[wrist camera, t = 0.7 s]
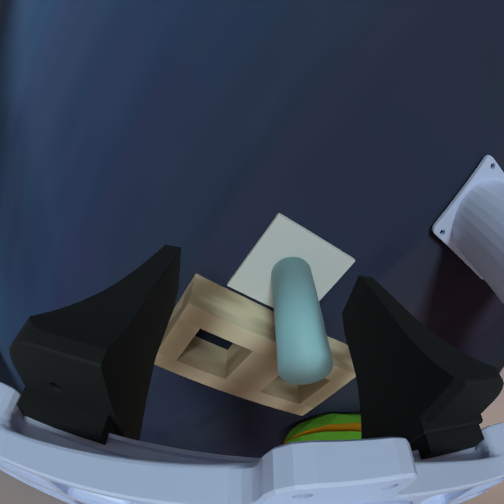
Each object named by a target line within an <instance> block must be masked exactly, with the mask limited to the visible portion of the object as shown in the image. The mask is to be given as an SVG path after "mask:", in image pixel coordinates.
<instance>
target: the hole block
mask: <svg viewBox="0 0 504 504" xmlns="http://www.w3.org/2000/svg"><path fill="white" fill-rule="evenodd" d="M199 329H203V330H205V331H207V332H209V333H212V334H214V335H216V336H218V337H221V338H223V339H225V340H228V341H230V342H232V343H233V344H232V345H231V346H230V348H229V349H228V350H227V349H224V348H222V347H220V346H217V345H215V344H212V343H210V342H208V341H206V340H203V339H201V338H199V337H196V336H195V335H196V333H197V332H198V331H199ZM327 337H328V336H327ZM328 342H329V346H330V351H331V355H332V360H333V369H332V371H331V372H330V373H329V375H328V376H326V377H325V378H324V379H322V380H320V381H318V382H315V383H311V384H306V385H296V384H291V383H288V382H286V381H284V380H283V379H282V378H281V377H280V376H279V374H278V364H277V348H276V333H275V319H274V311H272V310H270V309H268V308H266V307H263V306H261V305H259V304H257V303H255V302H253V301H251V300H249V299H247V298H245V297H243V296H241V295H238V294H236V293H234V292H232V291H230V290H228V289H226V288H224V287H222V286H220V285H218V284H216V283H214V282H212V281H210V280H208V279H206V278H204V277H202V276H200V275H198V274H195V276H194V277H193V279H192V281H191V282H190V284H189V285H188V287H187V289H186V290H185V292H184V293H183V295H182V297H181V298H180V300H179V302H178V303H177V305H176V306H175V308H174V310H173V312H172V315H171V318H170V320H169V323H168V326H167V329H166V331H165V334H164V337H163V339H162V342H161V345H160V347H159V350H158V353H157V356H156V359H155V363H154V364H155V365H157V366H160V367H162V368H164V369H167V370H169V371H171V372H174V373H176V374H179V375H181V376H184V377H186V378H189V379H191V380H194V381H196V382H199V383H202V384H204V385H207V386H210V387H212V388H215V389H218V390H221V391H223V392H226V393H229V394H232V395H235V396H238V397H241V398H244V399H247V400H250V401H253V402H256V403H259V404H263V405H266V406H269V407H272V408H276V409H279V410H283V411H286V412H290V413H293V414H297V415H301V416H303V415H304V414H306V413H307V412H309V411H310V410H311V409H313V408H314V407H316V406H317V405H318V404H320V403H321V402H323V401H324V400H325V399H327V398H328V397H329V396H331V395H332V394H333V393H335V392H336V391H337V390H339V389H340V388H341V387H343V386H344V385H345V384H347V383H348V382H349V381H350V380H352V379H353V378H354V377H355V376H356V374H355V371H354V367H353V363H352V359H351V355H350V352H349V348H348V345H346V344H344V343H342V342H340V341H337V340H335V339H333V338H331V337H328Z"/></svg>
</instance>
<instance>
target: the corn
mask: <svg viewBox="0 0 504 504" xmlns="http://www.w3.org/2000/svg"><path fill="white" fill-rule="evenodd" d="M352 439H361V413H330V414H321V415H318V416H315V417H313V418H311V419H308V420H306V421H304V422H301V423H300V424H298V425H297V426H296V427H294V428H293V429H292V430H290V432H289V434H288V435H287V437H286V439H285V440H284V444H288V443H291V442H299V441H310V440H352Z"/></svg>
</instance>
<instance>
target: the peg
mask: <svg viewBox="0 0 504 504" xmlns="http://www.w3.org/2000/svg"><path fill="white" fill-rule="evenodd" d="M271 277H272V291H273V305H274V319H275V333H276V348H277V364H278V374H279V376H280V377H281V378H282V379H283V380H284V381H286V382H288V383H291V384H296V385H306V384H311V383H315V382H318V381H320V380H322V379H324V378H325V377H326V376H328V375H329V373H330V372H331V371H332V369H333V360H332V355H331V351H330V346H329V342H328V337H327V333H326V329H325V325H324V320H323V316H322V312H321V308H320V304H319V300H318V295H317V291H316V287H315V283H314V279H313V275H312V272H311V268H310V265H309V264H308V263H307V262H306V261H305V260H304V259H302V258H299V257H286V258H283V259H281V260H280V261H278V262H277V263H276V264H275V265H274V267H273V269H272V272H271Z"/></svg>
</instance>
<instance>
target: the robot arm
mask: <svg viewBox="0 0 504 504" xmlns="http://www.w3.org/2000/svg"><path fill="white" fill-rule="evenodd" d="M491 164H492V167H491ZM441 230H443V231H442V233H440V231H441ZM432 231H433V233H434V234H435V235H436V236H437V237H438V238H440V239H441V240H442V241H443V242H444V243H445V244H446V245H447V246H448V247H449V248H450V249H451V250H452V251H453V252H454V253H455V254H457V255H458V256H459V257H460V258H461V259H462V260H463V261H464V262H465V263H466V264H467V265H468V266H469V267H470V268H471V269H472V270H473V271H474V272H475V273H476V274H477V275H478V276H479V277H480V278H481V279H484V280H485V281H486V282H487V284H488V285H489V286H490V287H491V289H492V290H493V291H494V292H495V294H496V295H497V296H498V297H499V299H500V300H501V301H502V303H503V304H504V173H503V171H502V170H501V168H500V167H499V165H498V164H497V163H496V161H495V160H494V158H493V157H492V156H490V155H486V156H485V157H484V158H483V160H482V161H481V162H480V164H479V165H478V167H477V168H476V170H475V171H474V172H473V174H472V175H471V176H470V178H469V179H468V181H467V182H466V183H465V185H464V186H463V187H462V189H461V190H460V191H459V193H458V194H457V195H456V197H455V198H454V199H453V201H452V202H451V203H450V204H449V206H448V207H447V208H446V209H445V211H444V212H443V213H442V215H441V216H440V217H439V218H438V219H437V221H436V222H435V223H434V224H433V226H432ZM180 255H181V247H175V246H169V245H165V246H164V247H162V248H161V249H160V250H159V251H158V252H157V253H155V254H154V255H153V256H152V257H151V258H149V259H148V260H147V261H146V262H145V263H143V264H142V265H141V266H140V267H138V268H137V269H136V270H134V271H133V272H132V273H130V274H129V275H128V276H126V277H125V278H123V279H122V280H120V281H119V282H117V283H116V284H114V285H112V286H111V287H109V288H107V289H105V290H104V291H102V292H100V293H98V294H96V295H93V296H91V297H89V298H87V299H85V300H83V301H80V302H78V303H75V304H72V305H70V306H67V307H64V308H61V309H58V310H54V311H50V312H46V313H42V314H38V315H34V316H30V317H29V319H28V320H27V321H26V323H25V324H24V326H23V327H22V329H21V330H20V332H19V333H18V335H17V336H16V338H15V340H14V341H13V343H12V345H11V346H10V356H11V359H12V362H13V364H14V366H15V368H16V370H17V372H18V374H19V376H20V378H21V379H22V381H23V383H24V385H25V388H24V390H23V393H22V395H21V393H20V392H18V391H17V390H16V389H14V388H13V387H11V386H9V385H6V384H4V383H2V382H0V470H2V471H4V472H5V473H7V474H9V475H11V476H13V477H15V478H16V479H18V480H20V481H22V482H24V483H26V484H28V485H30V486H32V487H34V488H36V489H38V490H40V491H42V492H44V493H46V494H49V495H51V496H53V497H55V498H58V499H60V500H62V501H64V502H67V503H69V504H459V503H462V502H464V501H467V500H469V499H472V498H474V497H476V496H478V495H481V494H482V493H484V492H486V491H488V490H489V489H491V488H492V487H494V486H495V485H497V484H499V483H500V482H502V481H503V480H504V424H503V423H498V424H495V425H491V426H488V427H485V428H484V429H482V430H481V428H480V426H479V424H480V423H482V421H483V419H482V417H481V413H482V412H483V411H484V410H485V409H486V408H487V407H488V406H489V405H490V404H491V403H492V402H493V401H494V400H495V399H496V397H497V396H498V395H499V393H500V392H501V390H502V387H503V384H504V383H503V380H502V378H501V376H500V374H499V372H498V371H497V369H496V368H495V367H492V366H490V365H488V364H485V363H483V362H481V361H478V360H476V359H474V358H472V357H470V356H469V355H467V354H465V353H463V352H461V351H460V350H458V349H456V348H454V347H453V346H451V345H450V344H448V343H447V342H445V341H444V340H442V339H441V338H439V337H438V336H437V335H435V334H434V333H433V332H432V331H430V330H429V329H428V328H426V327H425V326H424V325H423V324H421V323H420V322H419V321H418V320H417V319H416V318H415V317H414V316H412V315H411V314H410V313H409V312H408V311H407V310H406V309H405V308H404V307H403V306H402V305H401V304H400V303H399V302H398V301H397V300H396V299H395V298H394V297H392V296H391V295H390V294H389V293H388V292H387V291H386V290H385V289H384V288H383V287H382V286H381V285H380V284H379V283H378V282H376V281H375V280H374V279H373V278H370V277H364V276H358V279H357V281H356V283H355V286H354V288H353V290H352V293H351V295H350V297H349V299H348V302H347V304H346V306H345V308H344V310H343V313H342V314H343V324H344V331H345V336H346V340H347V344H348V348H349V352H350V355H351V359H352V363H353V367H354V371H355V374H356V379H357V384H358V391H359V400H360V412H361V439H352V440H310V441H299V442H291V443H288V444H284V445H280V446H277V447H275V448H273V449H272V450H271V451H269V452H268V453H266V454H265V455H264V456H263V457H262V458H251V457H239V456H228V455H219V454H211V453H203V452H196V451H190V450H184V449H178V448H172V447H167V446H162V445H157V444H152V443H147V442H143V441H140V434H141V427H142V421H143V415H144V410H145V404H146V399H147V394H148V389H149V384H150V380H151V375H152V371H153V367H154V363H155V359H156V356H157V353H158V350H159V347H160V345H161V342H162V339H163V337H164V334H165V331H166V329H167V326H168V323H169V320H170V318H171V315H172V312H173V309H174V305H175V301H176V297H177V293H178V286H179V270H180Z"/></svg>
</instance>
